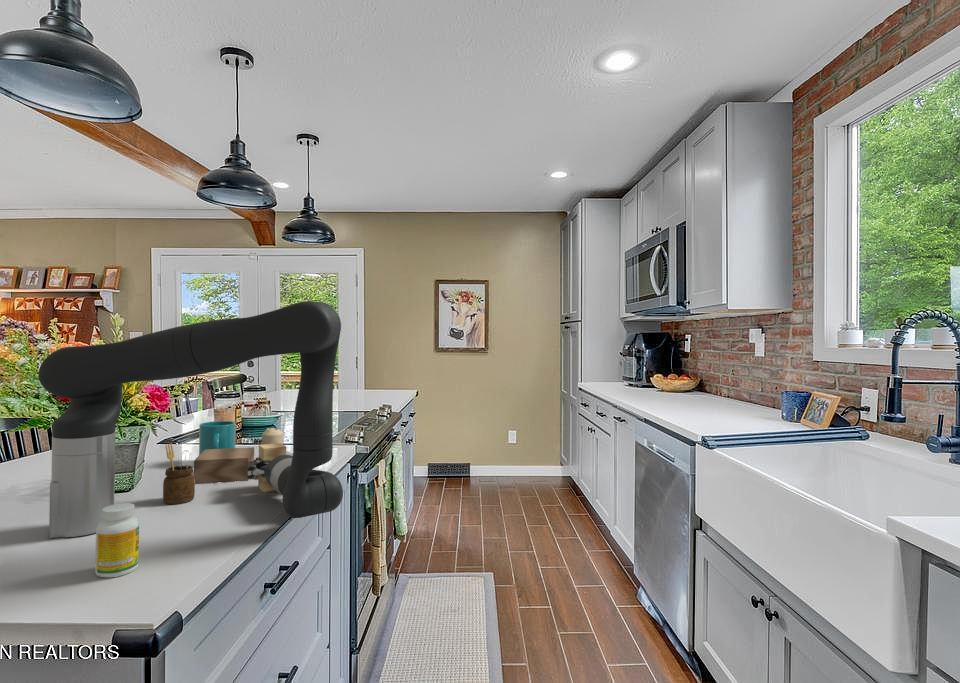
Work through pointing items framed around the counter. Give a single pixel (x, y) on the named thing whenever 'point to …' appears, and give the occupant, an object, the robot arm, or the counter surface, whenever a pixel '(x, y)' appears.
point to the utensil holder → (178, 482)
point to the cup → (216, 435)
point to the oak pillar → (269, 453)
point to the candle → (272, 436)
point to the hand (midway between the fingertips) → (269, 460)
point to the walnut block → (223, 465)
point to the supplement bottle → (117, 541)
